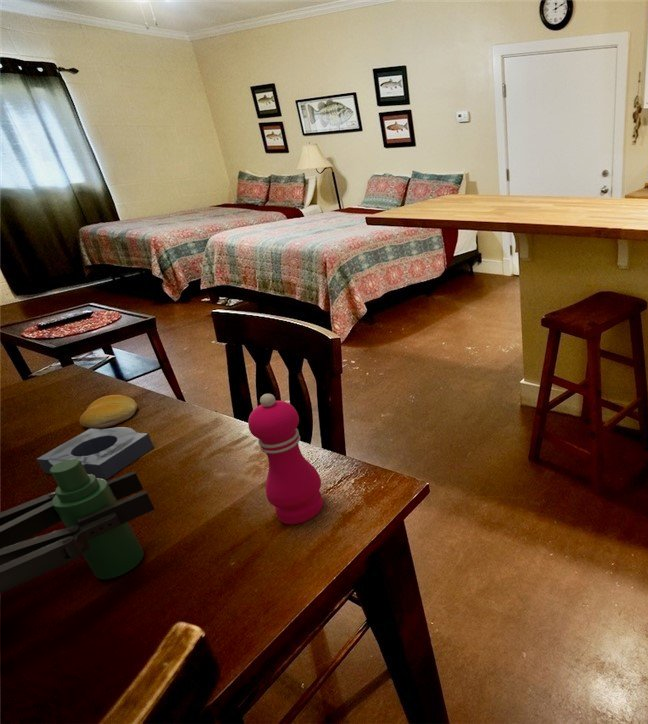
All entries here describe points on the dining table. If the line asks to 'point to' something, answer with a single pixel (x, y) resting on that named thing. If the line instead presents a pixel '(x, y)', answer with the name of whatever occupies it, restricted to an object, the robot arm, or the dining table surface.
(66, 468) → the bottle
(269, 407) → the pepper mill
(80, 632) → the dining table surface
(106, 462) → the hole board
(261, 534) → the dining table surface
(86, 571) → the dining table surface
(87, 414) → the bread roll
